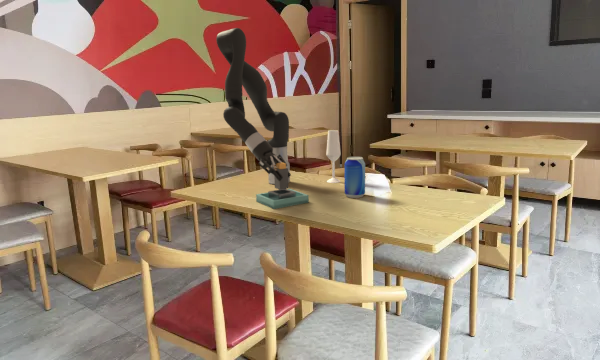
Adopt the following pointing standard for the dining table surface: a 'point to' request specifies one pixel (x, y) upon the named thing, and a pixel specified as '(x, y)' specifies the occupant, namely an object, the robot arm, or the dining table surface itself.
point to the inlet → (281, 194)
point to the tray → (282, 200)
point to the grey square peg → (284, 172)
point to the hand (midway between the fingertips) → (285, 177)
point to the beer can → (354, 177)
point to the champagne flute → (333, 151)
